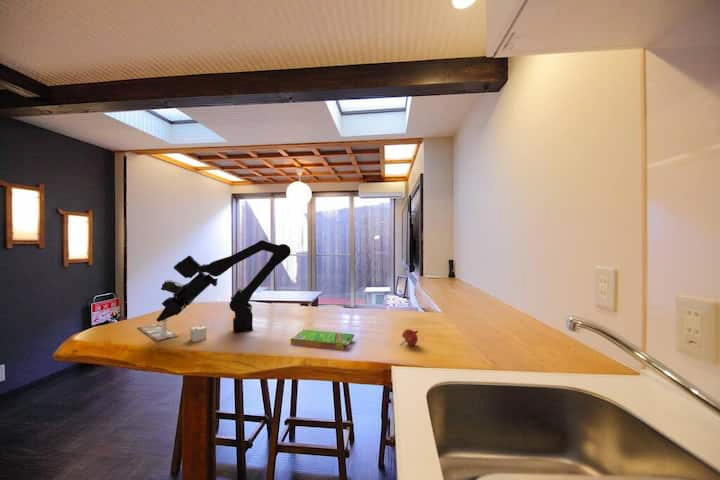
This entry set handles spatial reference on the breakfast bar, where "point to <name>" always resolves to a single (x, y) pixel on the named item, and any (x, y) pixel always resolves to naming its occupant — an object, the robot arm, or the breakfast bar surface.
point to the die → (198, 333)
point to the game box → (322, 339)
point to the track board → (154, 331)
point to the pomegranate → (410, 337)
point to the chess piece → (164, 331)
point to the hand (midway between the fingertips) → (159, 319)
